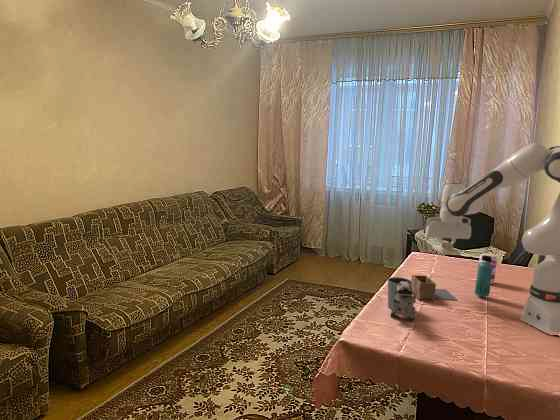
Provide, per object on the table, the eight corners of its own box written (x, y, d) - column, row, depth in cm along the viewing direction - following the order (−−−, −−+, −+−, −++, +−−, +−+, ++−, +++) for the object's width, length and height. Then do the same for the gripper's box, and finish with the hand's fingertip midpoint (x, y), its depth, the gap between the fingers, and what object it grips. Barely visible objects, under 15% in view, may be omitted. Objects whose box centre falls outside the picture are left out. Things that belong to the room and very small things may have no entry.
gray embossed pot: (410, 313, 182) (413, 285, 180) (385, 310, 184) (388, 282, 182) (408, 304, 192) (411, 278, 190) (384, 302, 194) (387, 275, 192)
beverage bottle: (473, 297, 206) (478, 256, 203) (474, 293, 212) (479, 253, 209) (488, 300, 203) (494, 258, 200) (489, 296, 209) (494, 255, 206)
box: (434, 300, 199) (435, 283, 197) (418, 300, 198) (420, 283, 197) (424, 291, 210) (426, 275, 209) (410, 291, 210) (411, 275, 209)
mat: (457, 300, 201) (457, 299, 201) (435, 299, 201) (435, 298, 201) (445, 290, 215) (445, 289, 215) (425, 289, 214) (425, 288, 214)
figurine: (386, 322, 172) (390, 285, 170) (393, 312, 182) (397, 277, 180) (410, 327, 168) (414, 290, 166) (416, 317, 178) (420, 282, 176)
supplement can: (496, 285, 226) (500, 257, 224) (480, 284, 226) (484, 256, 224) (489, 280, 234) (493, 253, 232) (473, 279, 234) (477, 252, 232)
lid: (460, 255, 198) (461, 246, 197) (442, 254, 198) (443, 245, 197) (448, 248, 211) (449, 239, 210) (432, 247, 211) (433, 238, 210)
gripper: (429, 218, 198) (426, 248, 201) (474, 220, 199) (470, 250, 201) (424, 215, 205) (421, 244, 207) (468, 217, 205) (464, 246, 207)
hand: (446, 247), depth 204 cm, fingers closed on lid, 2 cm apart
